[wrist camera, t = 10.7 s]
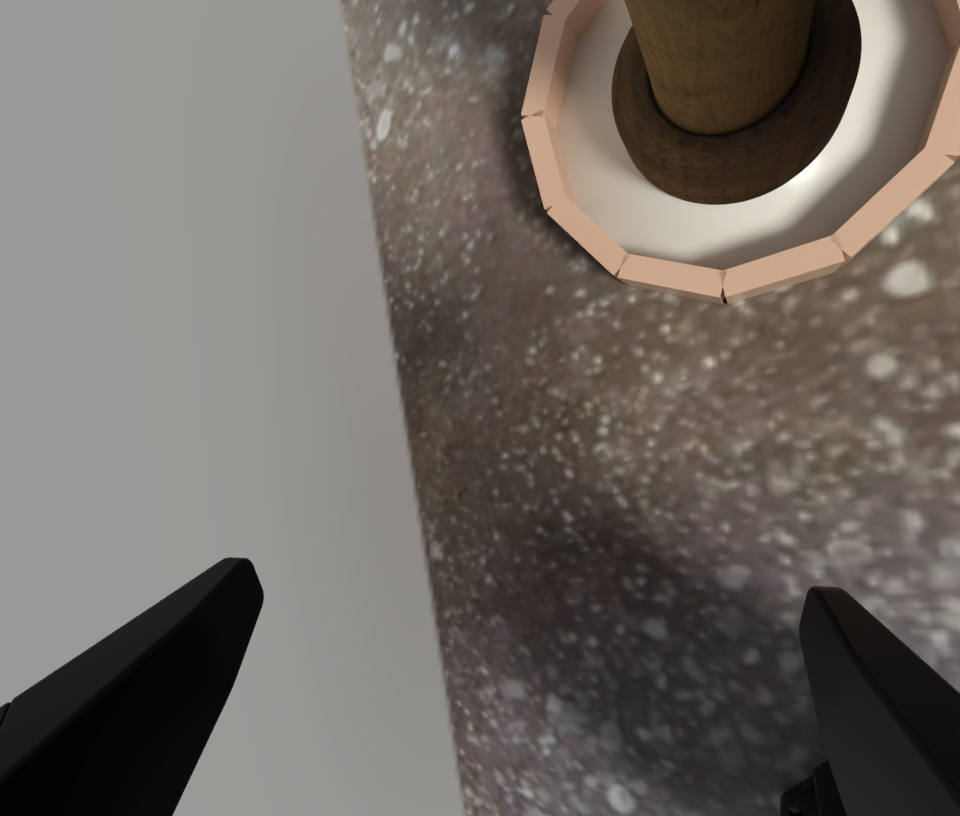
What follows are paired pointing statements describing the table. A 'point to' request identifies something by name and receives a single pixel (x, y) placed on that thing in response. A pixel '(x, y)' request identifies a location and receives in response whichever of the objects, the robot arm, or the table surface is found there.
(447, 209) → the table surface
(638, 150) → the mortar and pestle
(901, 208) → the bowl
